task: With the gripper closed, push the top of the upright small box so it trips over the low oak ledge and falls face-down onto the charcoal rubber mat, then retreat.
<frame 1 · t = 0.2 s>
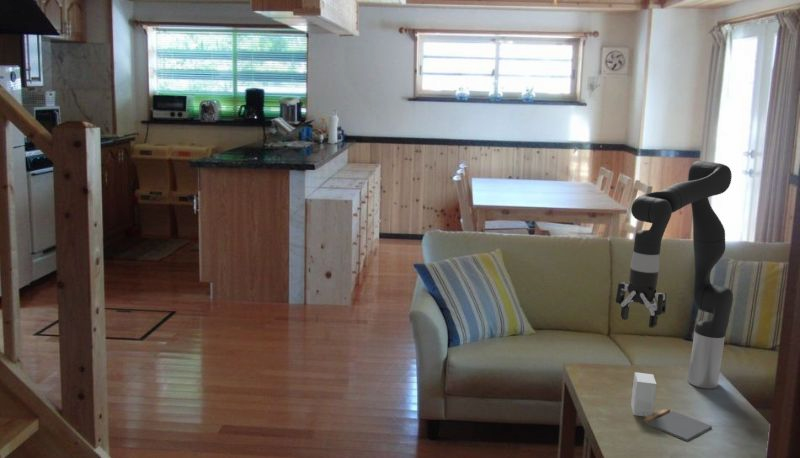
hand: (638, 323, 217), 28 cm above the table, tool pointing down, fingers open, 8 cm apart
small box: (641, 411, 227), on the table
rubber mat: (679, 426, 218), on the table
oak ledge: (657, 417, 223), on the table
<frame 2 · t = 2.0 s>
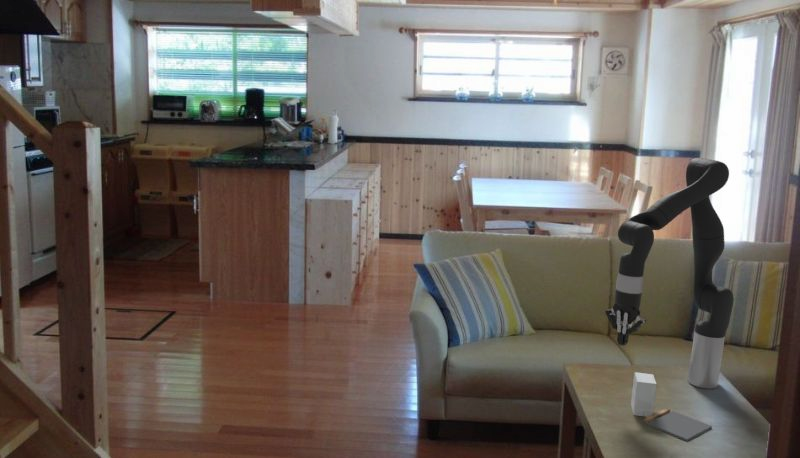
hand: (621, 344, 229), 18 cm above the table, tool pointing down, fingers closed
nothing on the table moved.
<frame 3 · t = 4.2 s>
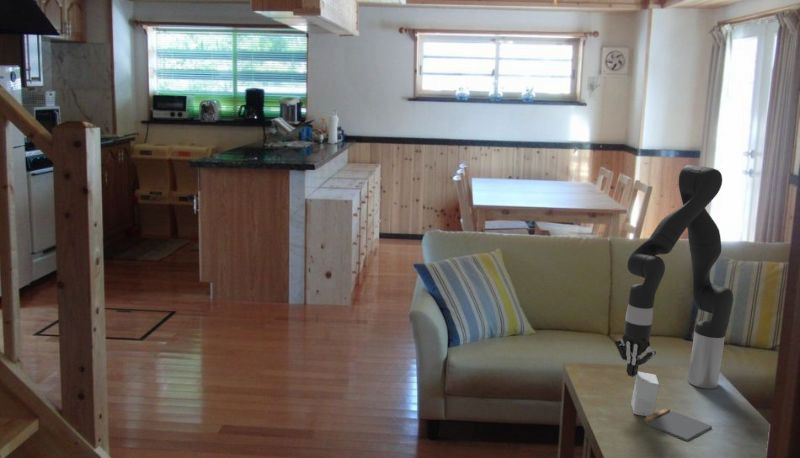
hand: (631, 375, 228), 10 cm above the table, tool pointing down, fingers closed
nothing on the table moved.
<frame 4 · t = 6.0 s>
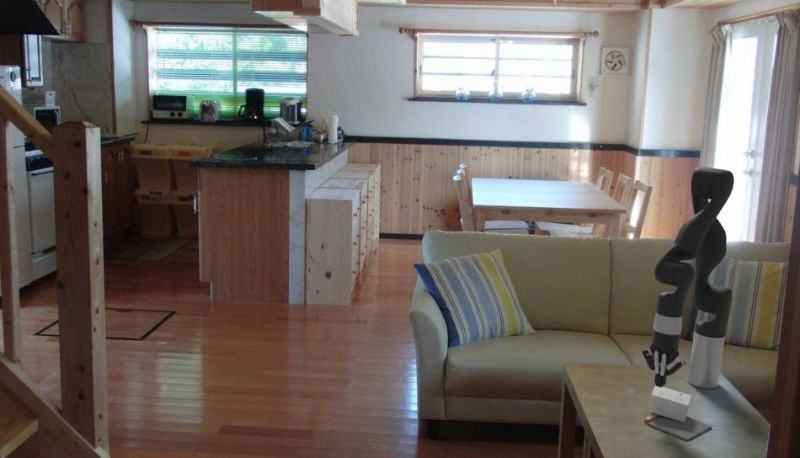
hand: (659, 386, 221), 10 cm above the table, tool pointing down, fingers closed
small box: (650, 397, 226), point 4 cm above the table, touching oak ledge, rubber mat
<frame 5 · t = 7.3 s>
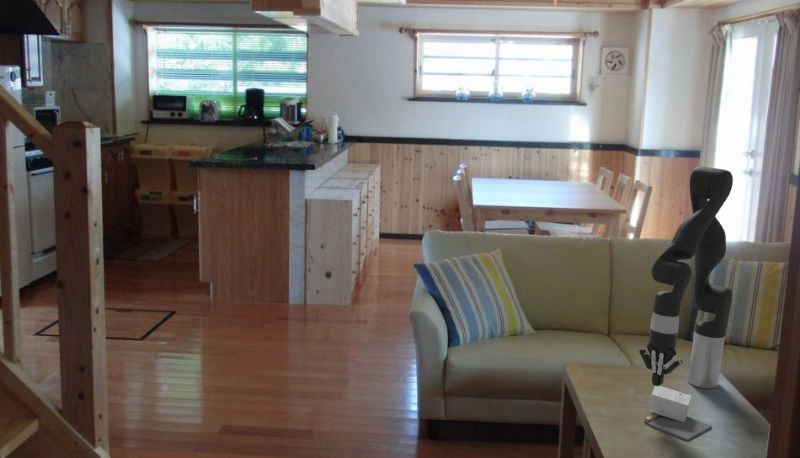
hand: (656, 385, 222), 9 cm above the table, tool pointing down, fingers closed
nothing on the table moved.
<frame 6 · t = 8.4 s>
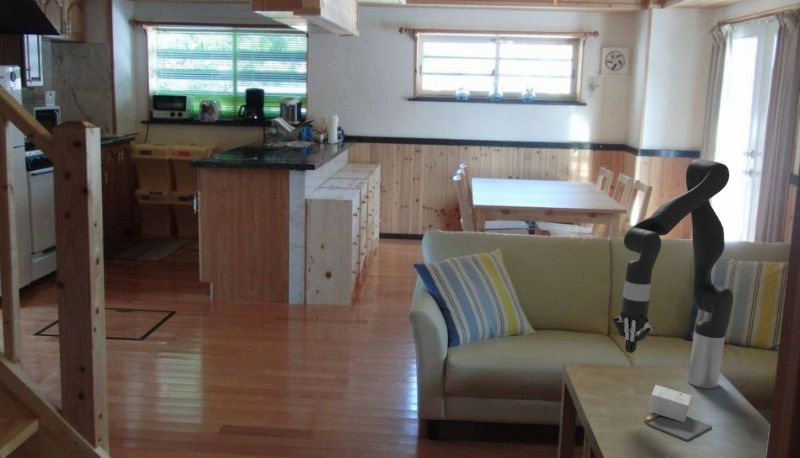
hand: (630, 352, 228), 17 cm above the table, tool pointing down, fingers closed
nothing on the table moved.
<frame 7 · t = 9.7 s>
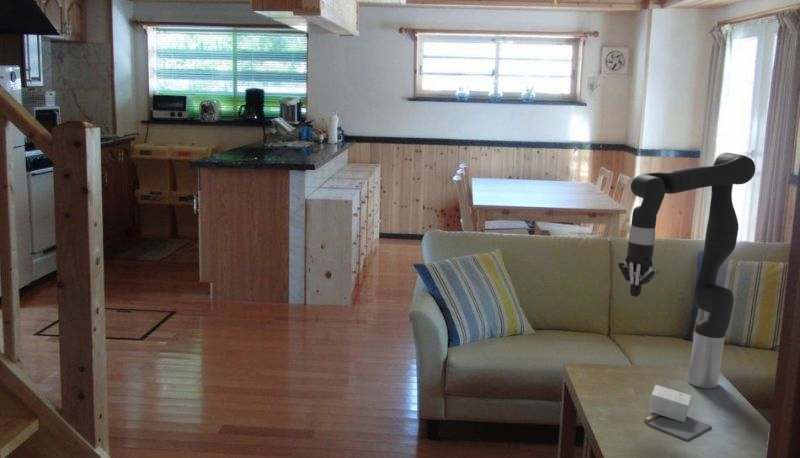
hand: (634, 295, 235), 31 cm above the table, tool pointing down, fingers closed
nothing on the table moved.
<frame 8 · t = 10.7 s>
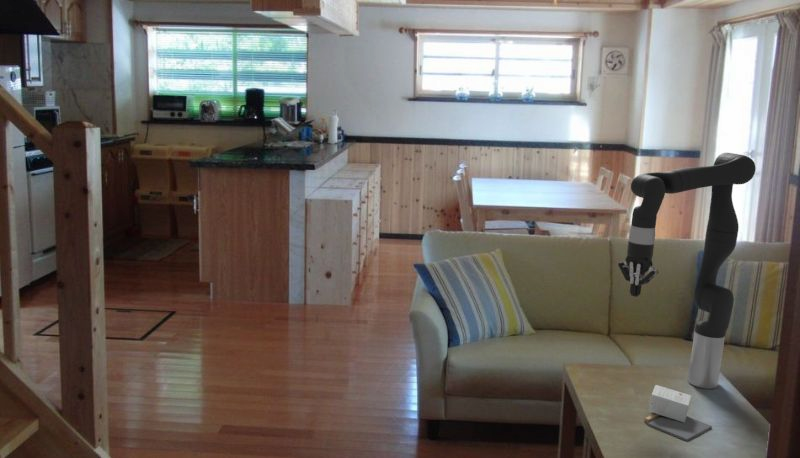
hand: (634, 295, 235), 31 cm above the table, tool pointing down, fingers closed
nothing on the table moved.
at the end: small box tilted 96°; small box inside the target area (8.7 cm from its centre), point 4.5 cm above the table; the gripper is holding nothing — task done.
